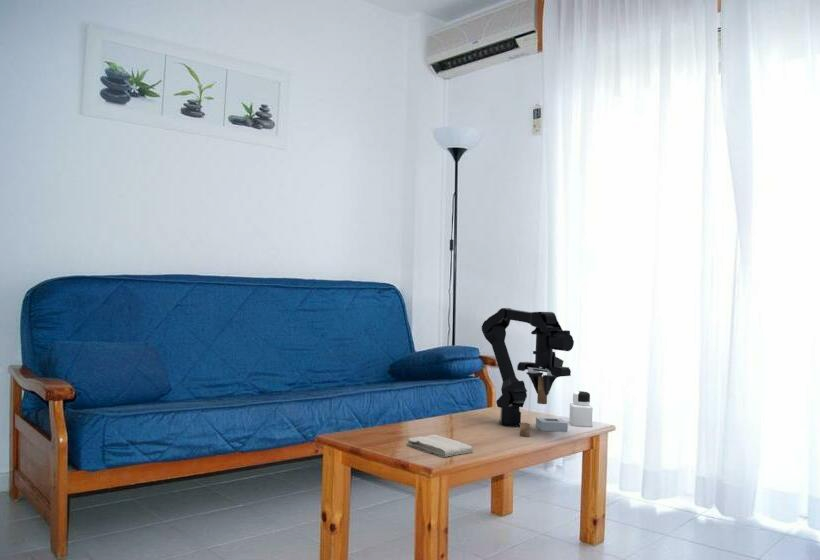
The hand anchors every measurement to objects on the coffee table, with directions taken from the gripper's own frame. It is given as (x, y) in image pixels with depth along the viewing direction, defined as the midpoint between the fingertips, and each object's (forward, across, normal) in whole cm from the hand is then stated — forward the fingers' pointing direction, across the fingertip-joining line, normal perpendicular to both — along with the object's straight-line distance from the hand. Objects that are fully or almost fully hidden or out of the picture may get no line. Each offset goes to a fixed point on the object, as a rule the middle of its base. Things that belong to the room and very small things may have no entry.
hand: (542, 394), depth 219 cm
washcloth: (+14, +1, +46) cm, 48 cm away
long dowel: (+3, 0, 0) cm, 3 cm away
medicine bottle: (+13, +2, -25) cm, 28 cm away
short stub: (+13, 0, +9) cm, 16 cm away
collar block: (+13, +2, -9) cm, 16 cm away
